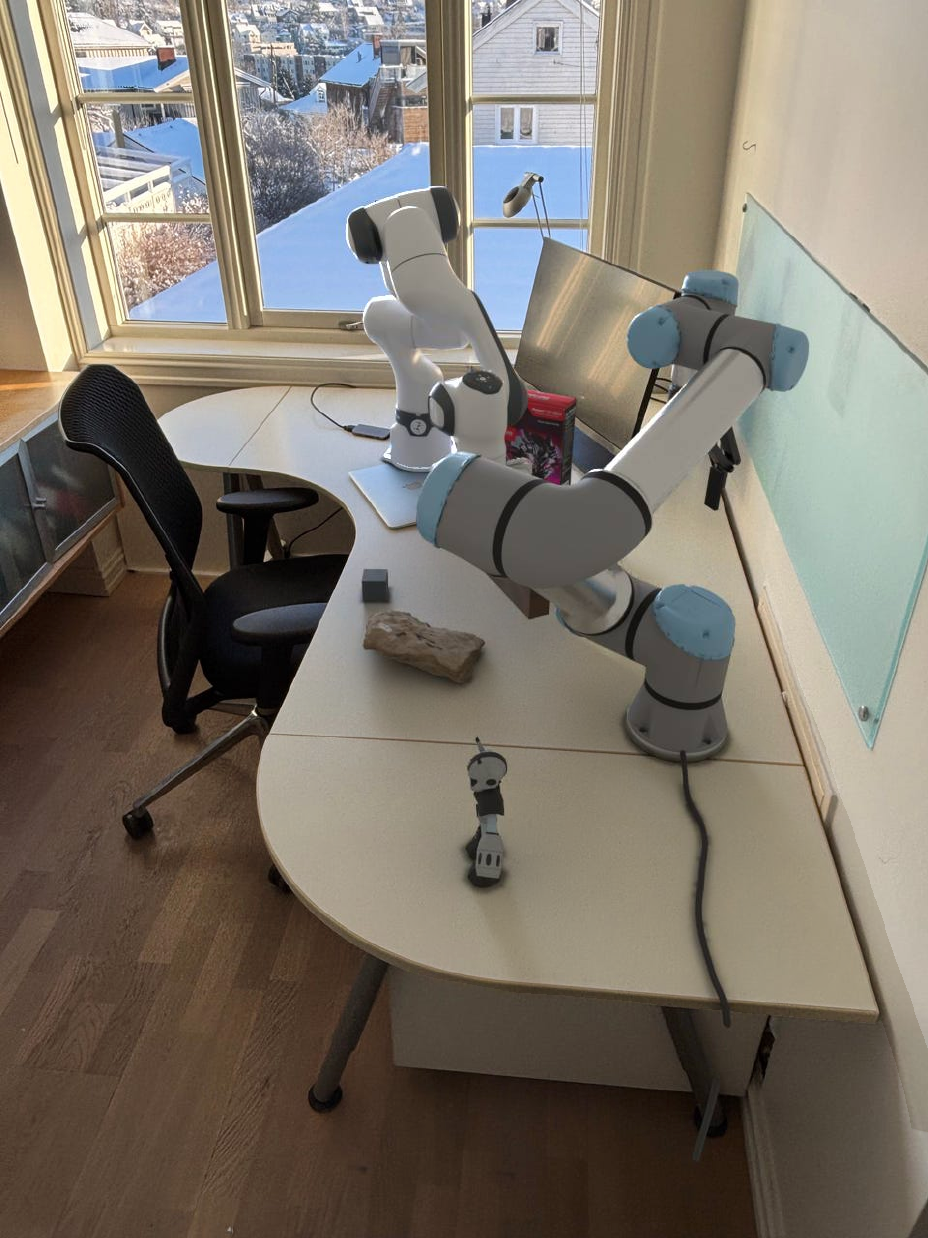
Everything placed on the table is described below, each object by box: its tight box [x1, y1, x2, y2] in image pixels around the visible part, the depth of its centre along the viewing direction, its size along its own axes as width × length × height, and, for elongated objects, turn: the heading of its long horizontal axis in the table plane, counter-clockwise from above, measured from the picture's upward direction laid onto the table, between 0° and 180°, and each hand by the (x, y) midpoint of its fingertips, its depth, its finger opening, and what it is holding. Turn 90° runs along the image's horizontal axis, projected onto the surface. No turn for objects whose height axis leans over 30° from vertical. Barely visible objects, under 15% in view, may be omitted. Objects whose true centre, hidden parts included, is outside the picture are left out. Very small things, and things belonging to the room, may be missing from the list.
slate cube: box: [361, 568, 389, 603], centre depth 174 cm, size 4×4×4 cm
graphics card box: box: [504, 388, 578, 486], centre depth 195 cm, size 17×7×27 cm, turn 62°
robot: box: [465, 736, 508, 888], centre depth 115 cm, size 20×5×20 cm, turn 3°
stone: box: [362, 609, 486, 684], centre depth 156 cm, size 21×15×6 cm
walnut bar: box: [486, 574, 551, 621], centre depth 165 cm, size 28×4×8 cm, turn 25°
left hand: (479, 533), depth 172 cm, fingers closed on walnut bar, 4 cm apart
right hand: (676, 515), depth 146 cm, fingers open, 13 cm apart
